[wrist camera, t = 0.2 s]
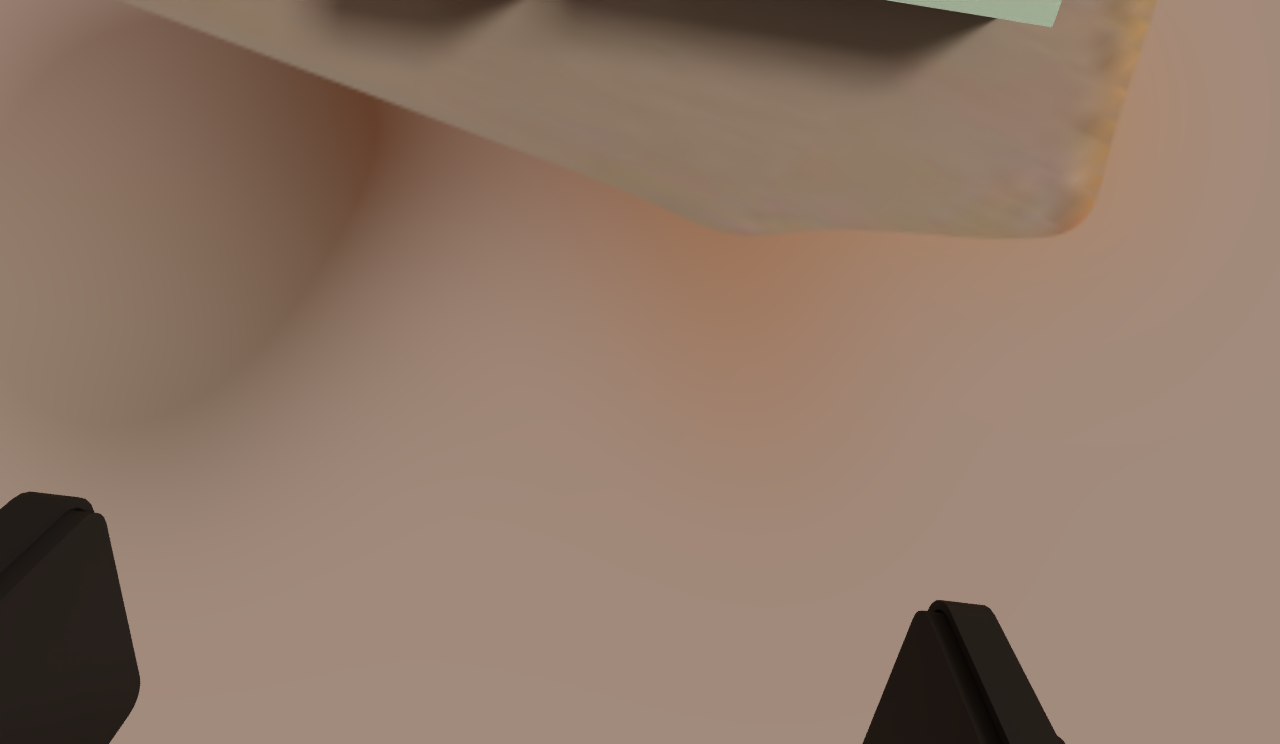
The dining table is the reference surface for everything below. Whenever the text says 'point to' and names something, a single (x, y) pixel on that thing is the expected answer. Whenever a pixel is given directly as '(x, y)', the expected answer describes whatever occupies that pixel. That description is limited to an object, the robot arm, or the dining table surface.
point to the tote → (999, 9)
